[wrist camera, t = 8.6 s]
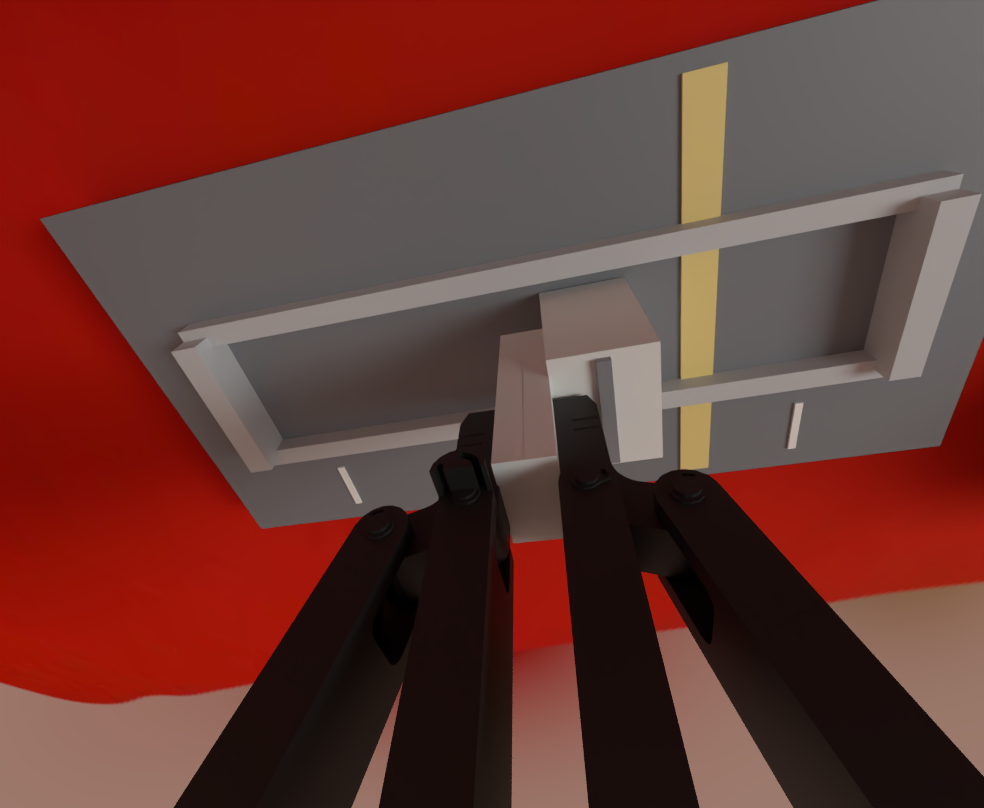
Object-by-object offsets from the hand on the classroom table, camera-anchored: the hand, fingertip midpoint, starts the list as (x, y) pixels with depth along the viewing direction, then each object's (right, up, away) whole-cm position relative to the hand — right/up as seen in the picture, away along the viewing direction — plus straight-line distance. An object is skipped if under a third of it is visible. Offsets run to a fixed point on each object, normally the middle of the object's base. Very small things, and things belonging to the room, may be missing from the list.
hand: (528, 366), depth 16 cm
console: (0, +2, +4) cm, 4 cm away
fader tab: (+2, +1, +1) cm, 3 cm away
